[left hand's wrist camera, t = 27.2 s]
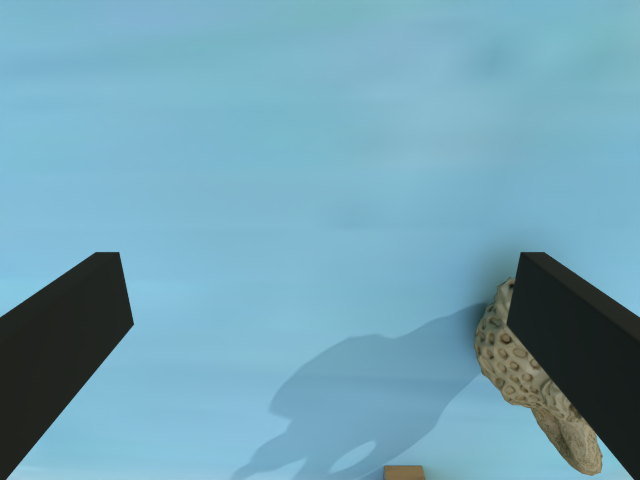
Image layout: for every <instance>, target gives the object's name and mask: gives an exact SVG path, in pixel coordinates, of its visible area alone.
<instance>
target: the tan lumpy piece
mask: <svg viewBox="0 0 640 480" xmlns="http://www.w3.org/2000/svg"><path fill="white" fill-rule="evenodd" d="M514 283H515V278H512V277H509V278H508V280H507V281H506V282H504V283H502V284H501V285H499V286H497V294H496V295H495V296H494V297H495V301H496V302H495V303H493V304H490V305H489V306H487V307H486V311H485V313H484V316H483V317H482V318H481V320H480V322H479V324H478V327H477V330H476V333H475V341H474V348H475V351H476V356H477V360H478V363H479V365H480V367H481V371H482V374H483V375H484V376H486V377H487V378H488V379H489V380H490V381H491V382H492V383H493V385H494V386H495V387H496V388H497V389H498V390H500V392H501V394H502V396H503V397H504V399H505V401H507V402H508V403H510V404H512V405H522V406H524V407H527V408H531V410H532V413H533V415H534V417H535V418H536V420H537V423H538V425H539V426H540V428H541V429H542V430H543V431H544V433H545V434H546V435H547V437H548V439H549V440H550V442H551V443H552V444H553V445H554V446H555V448H556V449H557V450H558V452H559V453H560V454H561V456H562V457H563V458H564V459H565V460H566V461H567V462H568V463H569V464H570V465H571V466H572V467H573V468H575V469H576V470H577V471H579V472H581V473H582V474H586V475H591V476H592V475H595V474H598V473H601V469H602V457H603V456H602V454H601V451H600V448H599V446H598V443H597V436H596V433H595V432H594V430H593V429H592V428H591V427H590V426H589V424H588V423H587V422H586V421H585V420H584V418H583V417H582V416H581V415H580V414H579V412H578V411H577V410H576V409H575V407H574V406H573V405H572V404H571V403H570V401H569V400H568V399H567V398H566V397H565V395H564V394H563V393H562V392H561V390H560V389H559V388H558V387H557V386H556V384H555V383H554V382H553V381H552V380H551V378H550V377H549V376H548V375H547V374H546V372H545V371H544V370H543V369H542V367H541V366H540V365H539V364H538V363H537V361H536V360H535V359H534V358H533V357H532V355H531V354H530V353H529V352H528V350H527V349H526V348H525V347H524V346H523V344H522V343H521V342H520V341H519V340H518V338H517V337H516V336H515V335H514V334H513V332H512V331H511V330H510V329H509V327H508V326H507V325H506V322H507V317H508V312H509V307H510V303H511V298H512V293H513V288H514Z"/></svg>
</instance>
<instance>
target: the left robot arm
mask: <svg viewBox="0 0 640 480" xmlns="http://www.w3.org/2000/svg"><path fill="white" fill-rule="evenodd" d="M133 325H134V322H133V317H132V312H131V307H130V303H129V298H128V293H127V288H126V283H125V278H124V273H123V268H122V263H121V259H120V254H119V252H95V253H94V254H92V255H91V256H90V257H88V258H87V259H85V260H84V261H82V262H81V263H79V264H78V265H76V266H75V267H73V268H72V269H70V270H69V271H68V272H66V273H65V274H63V275H62V276H60V277H59V278H57V279H56V280H54V281H53V282H51V283H50V284H49V285H47V286H46V287H44V288H43V289H41V290H40V291H38V292H37V293H35V294H34V295H32V296H31V297H30V298H28V299H27V300H25V301H24V302H22V303H21V304H19V305H18V306H16V307H15V308H13V309H12V310H10V311H9V312H8V313H6V314H5V315H3V316H2V317H0V480H6V479H7V478H8V477H9V475H10V474H11V473H12V472H13V470H14V469H15V468H16V467H17V466H18V464H19V463H20V462H21V461H22V460H23V458H24V457H25V456H26V455H27V454H28V452H29V451H30V450H31V449H32V447H33V446H34V445H35V444H36V443H37V441H38V440H39V439H40V438H41V437H42V435H43V434H44V433H45V432H46V430H47V429H48V428H49V427H50V426H51V424H52V423H53V422H54V421H55V420H56V418H57V417H58V416H59V415H60V414H61V412H62V411H63V410H64V409H65V407H66V406H67V405H68V404H69V403H70V401H71V400H72V399H73V398H74V397H75V395H76V394H77V393H78V392H79V390H80V389H81V388H82V387H83V386H84V384H85V383H86V382H87V381H88V380H89V378H90V377H91V376H92V375H93V374H94V372H95V371H96V370H97V369H98V367H99V366H100V365H101V364H102V363H103V361H104V360H105V359H106V358H107V357H108V355H109V354H110V353H111V352H112V350H113V349H114V348H115V347H116V346H117V344H118V343H119V342H120V341H121V340H122V338H123V337H124V336H125V335H126V334H127V332H128V331H129V330H130V329H131V327H132V326H133ZM506 325H507V326H508V327H509V329H510V330H511V331H512V332H513V334H514V335H515V336H516V337H517V338H518V340H519V341H520V342H521V343H522V344H523V346H524V347H525V348H526V349H527V350H528V352H529V353H530V354H531V355H532V357H533V358H534V359H535V360H536V361H537V363H538V364H539V365H540V366H541V367H542V369H543V370H544V371H545V372H546V374H547V375H548V376H549V377H550V378H551V380H552V381H553V382H554V383H555V384H556V386H557V387H558V388H559V389H560V390H561V392H562V393H563V394H564V395H565V397H566V398H567V399H568V400H569V401H570V403H571V404H572V405H573V406H574V407H575V409H576V410H577V411H578V412H579V414H580V415H581V416H582V417H583V418H584V420H585V421H586V422H587V423H588V424H589V426H590V427H591V428H592V429H593V430H594V432H595V433H596V434H597V435H598V437H599V438H600V439H601V440H602V441H603V443H604V444H605V445H606V446H607V447H608V449H609V450H610V451H611V452H612V454H613V455H614V456H615V457H616V458H617V460H618V461H619V462H620V463H621V464H622V466H623V467H624V468H625V469H626V470H627V472H628V473H629V474H630V475H631V477H632V478H633V479H634V480H640V317H638V316H637V315H635V314H634V313H632V312H631V311H630V310H628V309H627V308H625V307H624V306H622V305H621V304H619V303H618V302H616V301H615V300H613V299H612V298H610V297H609V296H608V295H606V294H605V293H603V292H602V291H600V290H599V289H597V288H596V287H594V286H593V285H591V284H590V283H589V282H587V281H586V280H584V279H583V278H581V277H580V276H578V275H577V274H575V273H574V272H572V271H571V270H570V269H568V268H567V267H565V266H564V265H562V264H561V263H559V262H558V261H556V260H555V259H553V258H552V257H550V256H549V255H548V254H546V253H545V252H521V254H520V259H519V263H518V268H517V273H516V278H515V283H514V288H513V293H512V298H511V303H510V307H509V312H508V317H507V322H506Z"/></svg>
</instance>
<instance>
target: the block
mask: <svg viewBox="0 0 640 480" xmlns="http://www.w3.org/2000/svg"><path fill="white" fill-rule="evenodd" d="M383 480H425V476H424V473H423V469H422V466H384V475H383Z"/></svg>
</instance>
